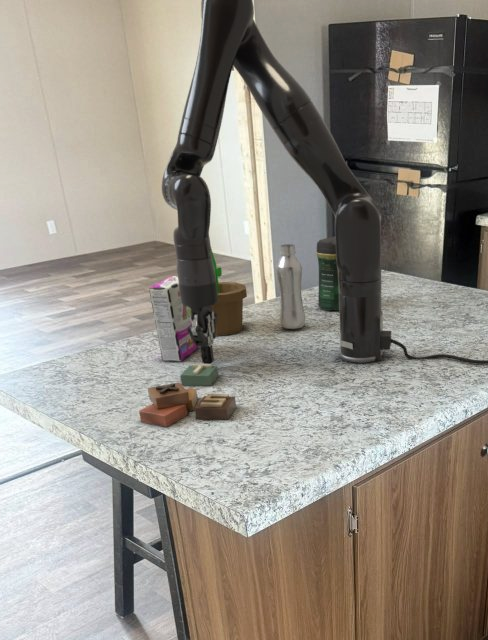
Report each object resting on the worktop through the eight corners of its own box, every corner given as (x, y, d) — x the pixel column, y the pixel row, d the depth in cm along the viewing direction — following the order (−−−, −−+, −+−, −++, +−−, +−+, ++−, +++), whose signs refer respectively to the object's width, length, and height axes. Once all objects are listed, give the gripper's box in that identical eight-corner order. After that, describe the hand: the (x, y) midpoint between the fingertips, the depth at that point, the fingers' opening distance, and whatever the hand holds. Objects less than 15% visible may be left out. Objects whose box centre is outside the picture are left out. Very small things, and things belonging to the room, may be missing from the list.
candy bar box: (181, 346, 167) (170, 275, 159) (201, 347, 166) (191, 276, 158) (160, 361, 157) (147, 286, 149) (181, 362, 157) (169, 287, 148)
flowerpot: (201, 322, 185) (183, 198, 170) (255, 321, 184) (242, 197, 169) (187, 338, 173) (167, 206, 157) (245, 337, 172) (230, 205, 157)
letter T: (218, 375, 148) (216, 363, 147) (210, 385, 143) (208, 372, 142) (191, 375, 149) (189, 362, 148) (181, 385, 144) (179, 372, 143)
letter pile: (203, 399, 137) (200, 375, 135) (180, 427, 125) (176, 401, 123) (163, 398, 138) (158, 374, 135) (136, 426, 126) (130, 400, 124)
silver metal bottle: (310, 326, 180) (305, 243, 170) (297, 333, 175) (291, 248, 164) (289, 323, 182) (282, 242, 172) (275, 330, 177) (268, 247, 167)
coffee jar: (337, 313, 190) (334, 240, 181) (314, 309, 194) (310, 238, 184) (357, 305, 197) (355, 235, 188) (334, 301, 201) (331, 233, 191)
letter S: (236, 407, 133) (234, 393, 132) (227, 419, 128) (226, 405, 127) (205, 406, 134) (203, 392, 132) (196, 419, 129) (193, 404, 127)
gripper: (205, 287, 136) (216, 373, 145) (224, 273, 148) (233, 353, 157) (167, 287, 137) (181, 372, 146) (190, 272, 148) (201, 352, 157)
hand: (208, 362), depth 151 cm, fingers closed
